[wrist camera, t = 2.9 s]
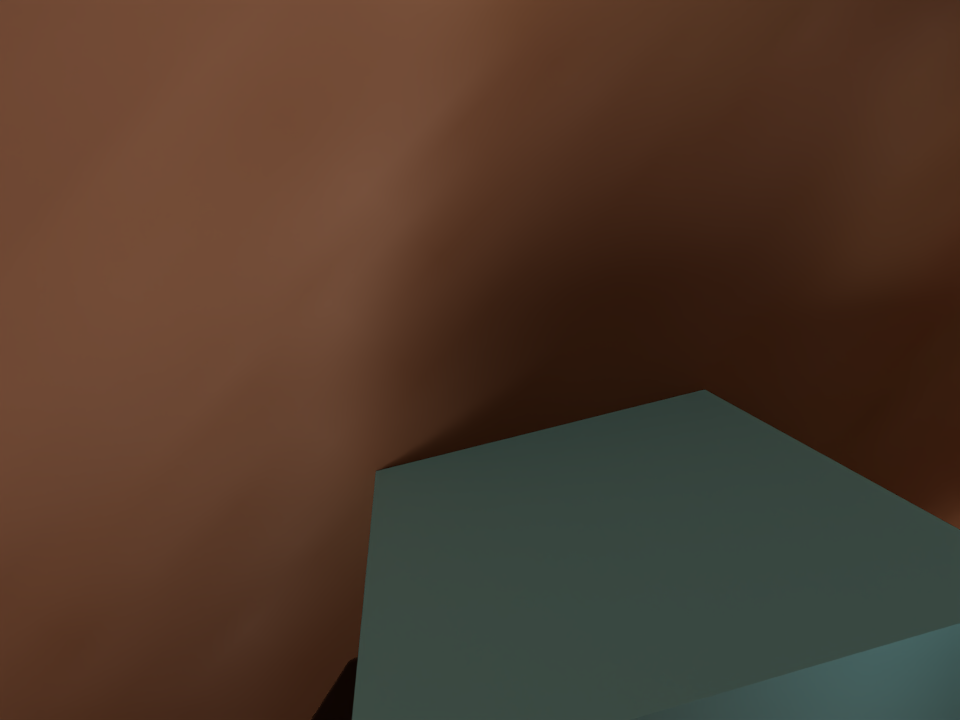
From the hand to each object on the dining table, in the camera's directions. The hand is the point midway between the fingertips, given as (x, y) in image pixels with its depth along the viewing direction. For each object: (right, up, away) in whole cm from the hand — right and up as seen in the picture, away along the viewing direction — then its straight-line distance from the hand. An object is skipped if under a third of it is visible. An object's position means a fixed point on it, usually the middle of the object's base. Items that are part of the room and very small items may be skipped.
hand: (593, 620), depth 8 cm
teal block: (0, 0, +1) cm, 1 cm away
